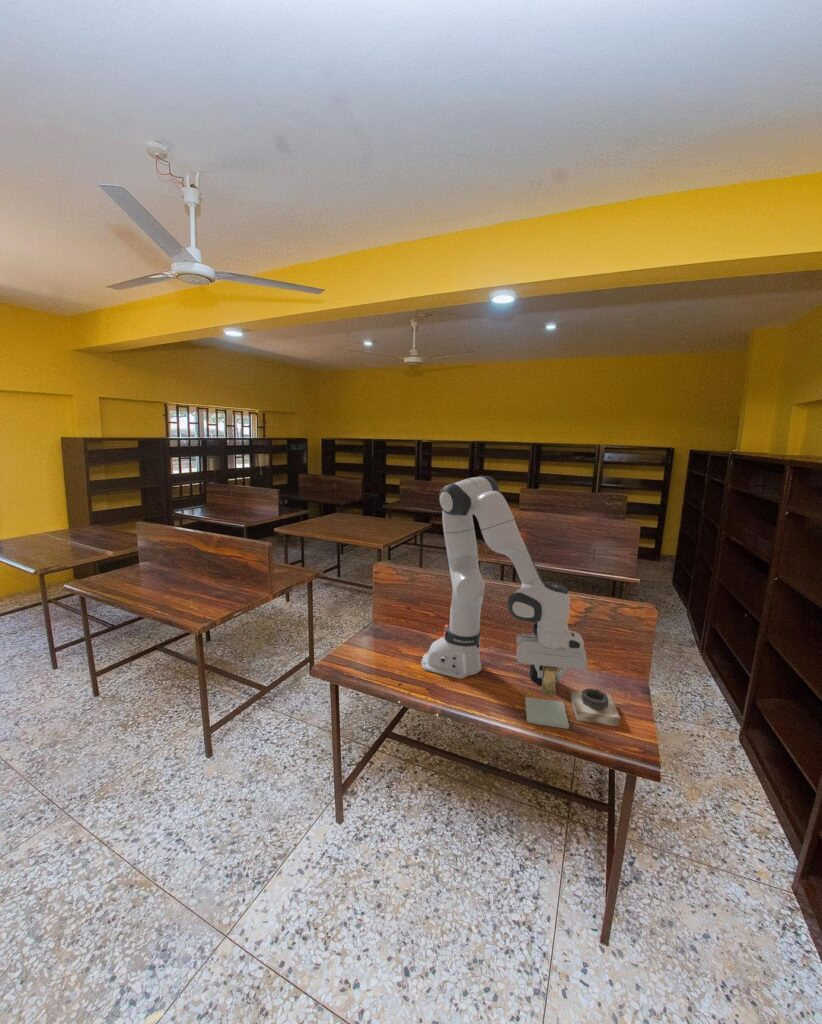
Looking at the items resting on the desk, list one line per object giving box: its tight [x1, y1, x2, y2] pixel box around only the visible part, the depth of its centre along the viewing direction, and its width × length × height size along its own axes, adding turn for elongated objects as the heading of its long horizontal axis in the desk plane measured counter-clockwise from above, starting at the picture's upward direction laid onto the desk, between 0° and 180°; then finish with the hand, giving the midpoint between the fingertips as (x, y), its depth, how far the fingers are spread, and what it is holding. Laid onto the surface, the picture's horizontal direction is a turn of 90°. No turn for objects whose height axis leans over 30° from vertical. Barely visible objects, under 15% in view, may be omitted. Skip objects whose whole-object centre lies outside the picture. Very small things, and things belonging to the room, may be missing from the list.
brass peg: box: [541, 666, 558, 697], centre depth 128 cm, size 4×4×9 cm
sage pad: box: [524, 696, 570, 730], centre depth 130 cm, size 12×12×1 cm
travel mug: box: [529, 622, 543, 686], centre depth 148 cm, size 8×8×20 cm
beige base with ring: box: [570, 688, 621, 727], centre depth 132 cm, size 12×12×6 cm
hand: (549, 678), depth 128 cm, fingers closed on brass peg, 4 cm apart
